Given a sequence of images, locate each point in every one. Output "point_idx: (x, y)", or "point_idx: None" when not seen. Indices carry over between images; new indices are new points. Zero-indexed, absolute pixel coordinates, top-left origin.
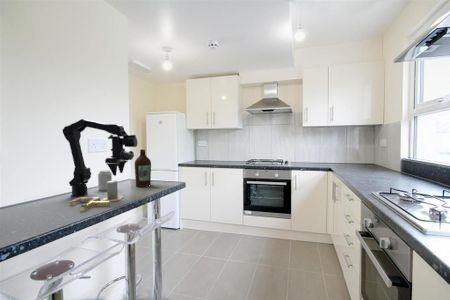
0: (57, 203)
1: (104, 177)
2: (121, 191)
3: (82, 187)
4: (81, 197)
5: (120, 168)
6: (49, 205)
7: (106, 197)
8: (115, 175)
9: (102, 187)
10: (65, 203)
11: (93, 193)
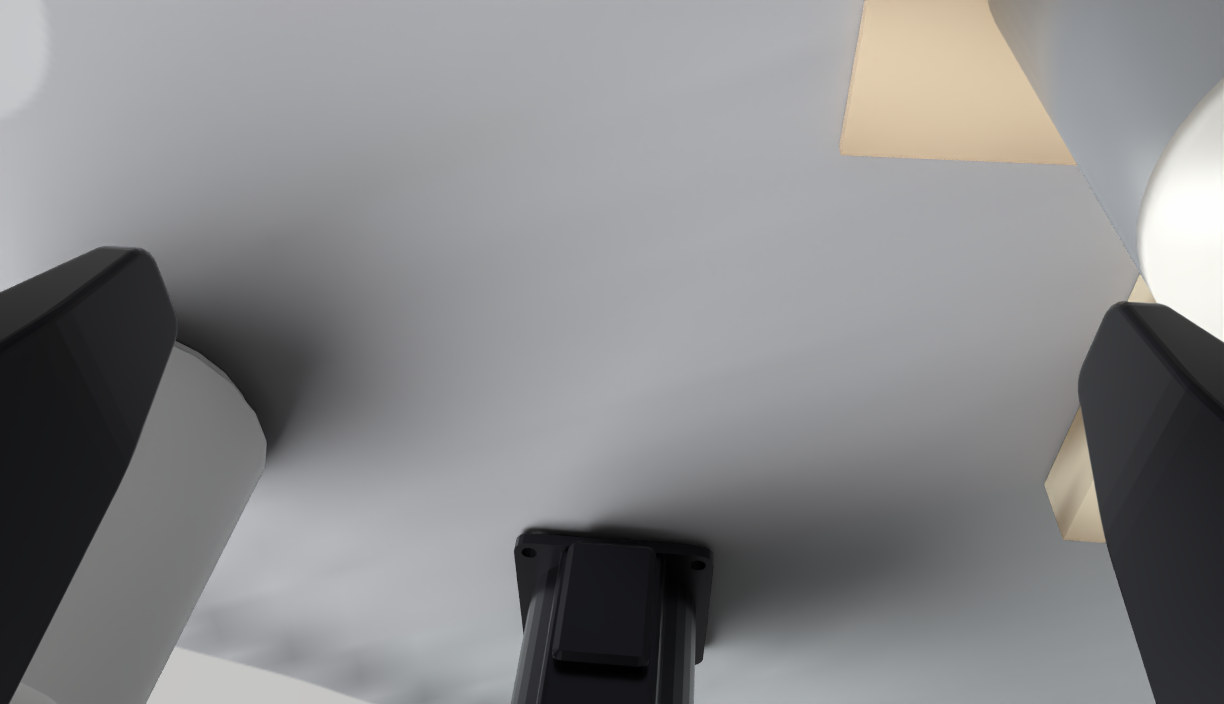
0: (1066, 657)
1: (111, 627)
2: (241, 5)
3: (658, 684)
4: (1093, 516)
5: (4, 530)
6: (1144, 689)
7: (970, 135)
8: (1158, 311)
9: (246, 461)
10: (1115, 591)
11: (485, 475)
